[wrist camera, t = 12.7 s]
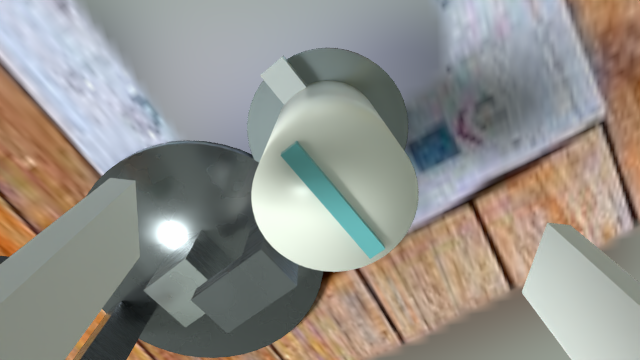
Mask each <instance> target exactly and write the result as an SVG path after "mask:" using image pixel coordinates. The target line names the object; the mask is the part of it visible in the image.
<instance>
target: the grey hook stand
mask: <svg viewBox="0 0 640 360" xmlns="http://www.w3.org/2000/svg"><path fill="white" fill-rule="evenodd" d="M258 165H259V162H257V161H255V160H254V158H253V156H252V155H251V154H249V153H247V152H245V151H242V150H240V149H237V148H233V147H230V146H226V145H223V144H218V143H211V142H205V141H177V142H168V143H164V144H159V145H155V146H152V147H149V148H146V149H143V150H141V151H138V152H136V153H134V154H132V155H131V156H129V157H127V158H125V159H123V160H122V161H120V162H119V163H118V164H116V165H115V166H114V167H112V168H111V169H110V170H108V171H107V172H106V173H105V174H104V175H103V176H102V177H101V178H100V179H99V180H98V181H97V182H96V183H95V185H94V186H93V187H92V189H91V190H90V192H89V193H88V195H89V194H90V193H91V192H93V191H94V190H95V189H97V188H98V187H99V186H100V185H102V184H103V183H104V182H105V181H107V180H108V179H109V178H116V179H126V180H135V182H136V198H137V215H138V232H139V249H140V257H139V259H138V260H137V261H136V263H135V264H134V266H133V267H132V268H131V270H130V271H129V272H128V274H127V275H126V276H125V278H124V279H123V281H122V282H121V283H120V285H119V286H118V287H117V289H116V290H115V292H114V293H113V294H112V296H111V297H110V298H109V300H108V301H107V302H106V304H105V305H104V307H103V308H102V309H103V310H104V311H105V312H106V315H105V317H104V318H103V319H102V321H101V322H100V323H99V325H98V326H97V328H96V329H95V330H94V332H93V333H92V334H91V336H90V337H89V338H88V340H87V341H86V343H85V344H84V345H83V347H82V348H81V349H80V351H79V352H78V354H77V355H76V356H75V358H74V359H73V360H126V359H127V358H128V356H129V354H130V352H131V351H132V349H133V347H134V345H135V344H136V342H137V340H138V338H139V339H141V340H143V341H145V342H147V343H149V344H151V345H153V346H155V347H158V348H161V349H164V350H167V351H170V352H174V353H178V354H182V355H187V356H195V357H209V358H217V357H230V356H235V355H241V354H245V353H249V352H252V351H255V350H258V349H260V348H263V347H265V346H268V345H270V344H271V343H273V342H275V341H277V340H278V339H280V338H282V337H283V336H284V335H286V334H287V333H288V332H290V331H291V330H292V329H293V328H294V327H295V326H296V325H297V324H298V323H299V322H300V321H301V320H302V319H303V318H304V316H305V315H306V314H307V312H308V311H309V309H310V308H311V306H312V304H313V302H314V301H315V299H316V296H317V294H318V291H319V288H320V285H321V280H322V276H323V271H320V270H314V269H310V268H307V267H304V266H301V265H299V264H296V263H294V262H292V261H291V260H289V259H287V258H286V257H284V256H283V255H281V254H280V253H279V252H278V251H276V250H275V249H274V248H273V247H272V246H271V245H270V243H269V242H268V241H267V240H266V239H265V237H264V236H263V234H262V233H261V231H260V229H259V227H258V225H257V223H256V220H255V217H254V213H253V208H252V202H251V191H252V184H253V179H254V176H255V172H256V169H257V167H258ZM88 195H87V196H88Z"/></svg>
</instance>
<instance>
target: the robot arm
mask: <svg viewBox="0 0 640 360" xmlns="http://www.w3.org/2000/svg"><path fill="white" fill-rule="evenodd" d="M139 257H140V249H139V232H138V215H137V198H136V182H135V180H126V179H116V178H109V179H108V180H107V181H105V182H104V183H103V184H102V185H100V186H99V187H98V188H97V189H95V190H94V191H93V192H91V193H90V194H89V195H88V196H86V197H85V198H84V199H83V200H81V201H80V202H79V203H78V204H76V205H75V206H74V207H72V208H71V209H70V210H69V211H67V212H66V213H65V214H64V215H62V216H61V217H60V218H58V219H57V220H56V221H55V222H53V223H52V224H51V225H50V226H48V227H47V228H46V229H44V230H43V231H42V232H41V233H39V234H38V235H37V236H36V237H34V238H33V239H32V240H31V241H29V242H28V243H27V244H25V245H24V246H23V247H22V248H20V249H19V250H18V251H17V252H15V253H14V254H13V255H11V256H10V257H7V256H0V360H65V359H66V357H67V356H68V354H69V353H70V352H71V350H72V349H73V348H74V346H75V345H76V343H77V342H78V341H79V339H80V338H81V337H82V335H83V334H84V333H85V331H86V330H87V328H88V327H89V326H90V324H91V323H92V322H93V320H94V319H95V317H96V316H97V315H98V313H99V312H100V311H101V309H102V308H103V307H104V305H105V304H106V302H107V301H108V300H109V298H110V297H111V296H112V294H113V293H114V292H115V290H116V289H117V287H118V286H119V285H120V283H121V282H122V281H123V279H124V278H125V276H126V275H127V274H128V272H129V271H130V270H131V268H132V267H133V266H134V264H135V263H136V261H137V260H138V259H139ZM522 293H523V295H524V296H525V297H526V299H527V300H528V301H529V303H530V304H531V305H532V307H533V308H534V309H535V311H536V312H537V314H538V315H539V316H540V318H541V319H542V320H543V322H544V323H545V324H546V326H547V327H548V328H549V330H550V331H551V333H552V334H553V335H554V337H555V338H556V339H557V341H558V342H559V343H560V345H561V346H562V347H563V349H564V350H565V351H566V353H567V354H568V356H569V357H570V358H571V359H572V360H640V283H639V282H638V281H637V280H636V279H635V278H633V277H632V276H631V275H630V274H629V273H627V272H626V271H625V270H624V269H623V268H621V267H620V266H619V265H617V263H615V262H614V261H613V260H612V259H611V258H609V257H608V256H607V255H606V254H604V253H603V252H602V251H601V250H600V249H598V248H597V247H596V246H595V245H594V244H592V243H591V242H590V241H589V240H588V239H586V238H585V237H584V236H583V235H582V234H580V233H579V232H578V231H577V230H575V229H574V228H573V227H572V226H571V225H564V224H554V223H547V226H546V228H545V231H544V234H543V236H542V239H541V242H540V244H539V247H538V250H537V253H536V255H535V258H534V261H533V263H532V266H531V269H530V271H529V274H528V277H527V280H526V282H525V285H524V288H523V290H522Z"/></svg>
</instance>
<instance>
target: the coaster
mask: <svg viewBox="0 0 640 360" xmlns="http://www.w3.org/2000/svg"><path fill="white" fill-rule="evenodd" d="M287 60H288V62H289V63H290V64H291V65H292V67H293V68H294V69H295V71H296V72H297V73H298V74H299V76H300V77H301V78H302V79H303V81H304V82H305V83H306V84H307V85H308V84H311V83H313V82H318V81H326V80H329V81H338V82H343V83H346V84H348V85H350V86H352V87H354V88H356V89H357V90H359V91H360V92H361V93H362V94H364V95H365V96H366V98H367V99H368V100H369V101H370V103H371V104H372V106H373V107H374V108H375V110H376V111H377V113H378V114H379V116H380V117H381V118H382V120H383V121H384V123H385V124H386V126H387V127H388V128H389V130H390V131H391V133H392V134H393V136H394V137H395V138H396V140H397V141H398V143H399V144H400V146H401V147H402V148H403V150H404V149H405V146H406V142H407V135H408V118H407V111H406V107H405V104H404V100H403V98H402V96H401V93H400V91H399V89H398V88H397V86H396V85H395V83H394V81H393V80H392V79H391V78H390V77H389V75H388V74H387V73H386V72H385V71H384V70H382V69H381V68H380V67H379V66H378V65H377V64H375V63H374V62H372V61H371V60H369V59H368V58H366V57H364V56H362V55H359V54H357V53H354V52H352V51H349V50H344V49H338V48H318V49H312V50H308V51H304V52H301V53H299V54H296V55H294V56H292V57H290V58H288V59H287ZM283 106H284V104H283V103H282V102H281V100H280V99H279V98H278V97H277V96H276V94H275V93H274V92H273V91H272V90H271V88H270V87H269V86H268V85H267V83H266V82H265V81H263V82H262V83H261V85H260V86H259V88H258V90H257V91H256V93H255V95H254V98H253V100H252V103H251V106H250V110H249V115H248V122H247V134H248V141H249V146H250V149H251V153H252V156H253V158H254V160H255V161H257V162H260V160H261V157H262V155H263V153H264V150H265V148H266V145H267V143H268V141H269V138H270V136H271V133H272V131H273V129H274V126H275V124H276V121H277V119H278V117H279V114H280V112H281V110H282V107H283Z"/></svg>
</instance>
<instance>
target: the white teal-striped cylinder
mask: <svg viewBox="0 0 640 360" xmlns="http://www.w3.org/2000/svg"><path fill="white" fill-rule="evenodd" d="M261 77H262V78H263V80H264V81H265V82H266V83H267V85H268V86H269V87H270V88H271V90H272V91H273V92H274V93H275V94H276V96H277V97H278V98H279V99H280V100H281V102H282V103H283V104H284V106H283V107H282V110H281V112H280V114H279V117H278V119H277V121H276V124H275V126H274V129H273V131H272V133H271V136H270V138H269V141H268V143H267V145H266V148H265V150H264V153H263V155H262V157H261V160H260V162H259V165H258V167H257V169H256V172H255V176H254V179H253V184H252V191H251V202H252V208H253V213H254V217H255V220H256V223H257V225H258V227H259V229H260V231H261V233H262V234H263V236H264V237H265V239H266V240H267V241H268V242H269V243H270V245H271V246H272V247H273V248H274V249H275V250H276V251H278V252H279V253H280V254H281V255H283V256H284V257H286V258H287V259H289V260H291V261H292V262H294V263H296V264H299V265H301V266H304V267H307V268H310V269H314V270H320V271H332V272H337V271H347V270H353V269H357V268H360V267H363V266H366V265H368V264H371V263H373V262H375V261H377V260H378V259H380V258H382V257H383V256H385V255H386V254H387V253H389V252H390V251H391V250H392V249H393V248H395V247H396V246H397V245H398V244H399V242H400V241H401V240H402V239H403V237H404V236H405V235H406V233H407V231H408V230H409V228H410V226H411V224H412V222H413V220H414V217H415V213H416V210H417V204H418V183H417V177H416V174H415V171H414V168H413V166H412V163H411V161H410V159H409V158H408V156H407V154H406V153H405V151H404V150H403V148H402V147H401V146H400V144H399V143H398V141H397V140H396V138H395V137H394V136H393V134H392V133H391V131H390V130H389V128H388V127H387V126H386V124H385V123H384V121H383V120H382V118H381V117H380V116H379V114H378V113H377V111H376V110H375V108H374V107H373V106H372V104H371V103H370V101H369V100H368V99H367V98H366V96H365V95H364V94H362V93H361V92H360V91H359V90H357V89H356V88H354V87H352V86H350V85H348V84H346V83H343V82H338V81H329V80H326V81H318V82H313V83H311V84H308V85H307V84H306V83H305V82H304V81H303V79H302V78H301V77H300V76H299V74H298V73H297V72H296V71H295V69H294V68H293V67H292V65H291V64H290V63H289V62H288V60H287V59H286V58H285V57H284V56H282V57H281V58H280V59H279V60H278V61H276V62H275V63H274V64H273V65H272V66H270V68H268V69H267V70H266V71H265V72H264V73H262V74H261Z"/></svg>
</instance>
